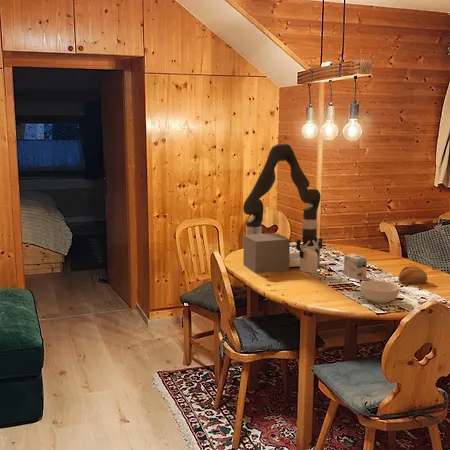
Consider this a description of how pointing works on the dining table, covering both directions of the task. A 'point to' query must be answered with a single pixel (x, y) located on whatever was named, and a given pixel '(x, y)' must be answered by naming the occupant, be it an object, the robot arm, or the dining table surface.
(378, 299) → the cereal bowl
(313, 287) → the dining table surface
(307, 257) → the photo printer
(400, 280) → the bread roll
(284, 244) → the cabinet
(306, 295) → the dining table surface
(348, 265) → the light bulb box
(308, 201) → the robot arm
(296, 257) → the drawer tray
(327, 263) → the dining table surface
